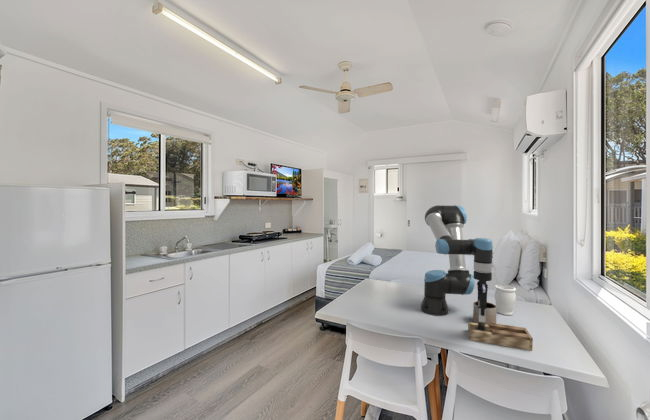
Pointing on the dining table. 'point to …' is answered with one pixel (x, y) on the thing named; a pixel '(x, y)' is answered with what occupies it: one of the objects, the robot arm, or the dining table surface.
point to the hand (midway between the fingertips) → (481, 320)
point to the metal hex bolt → (480, 324)
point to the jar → (505, 299)
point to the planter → (489, 313)
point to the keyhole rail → (498, 338)
